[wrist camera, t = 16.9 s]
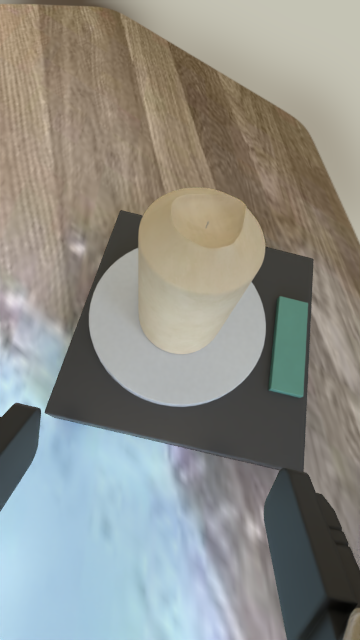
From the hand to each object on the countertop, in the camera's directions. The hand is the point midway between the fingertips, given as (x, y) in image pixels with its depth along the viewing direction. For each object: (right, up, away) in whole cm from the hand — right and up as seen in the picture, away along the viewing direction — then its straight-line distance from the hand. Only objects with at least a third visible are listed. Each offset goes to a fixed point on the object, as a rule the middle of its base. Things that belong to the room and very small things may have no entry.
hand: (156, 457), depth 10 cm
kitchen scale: (+2, +3, +14) cm, 15 cm away
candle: (+1, +5, +11) cm, 12 cm away
